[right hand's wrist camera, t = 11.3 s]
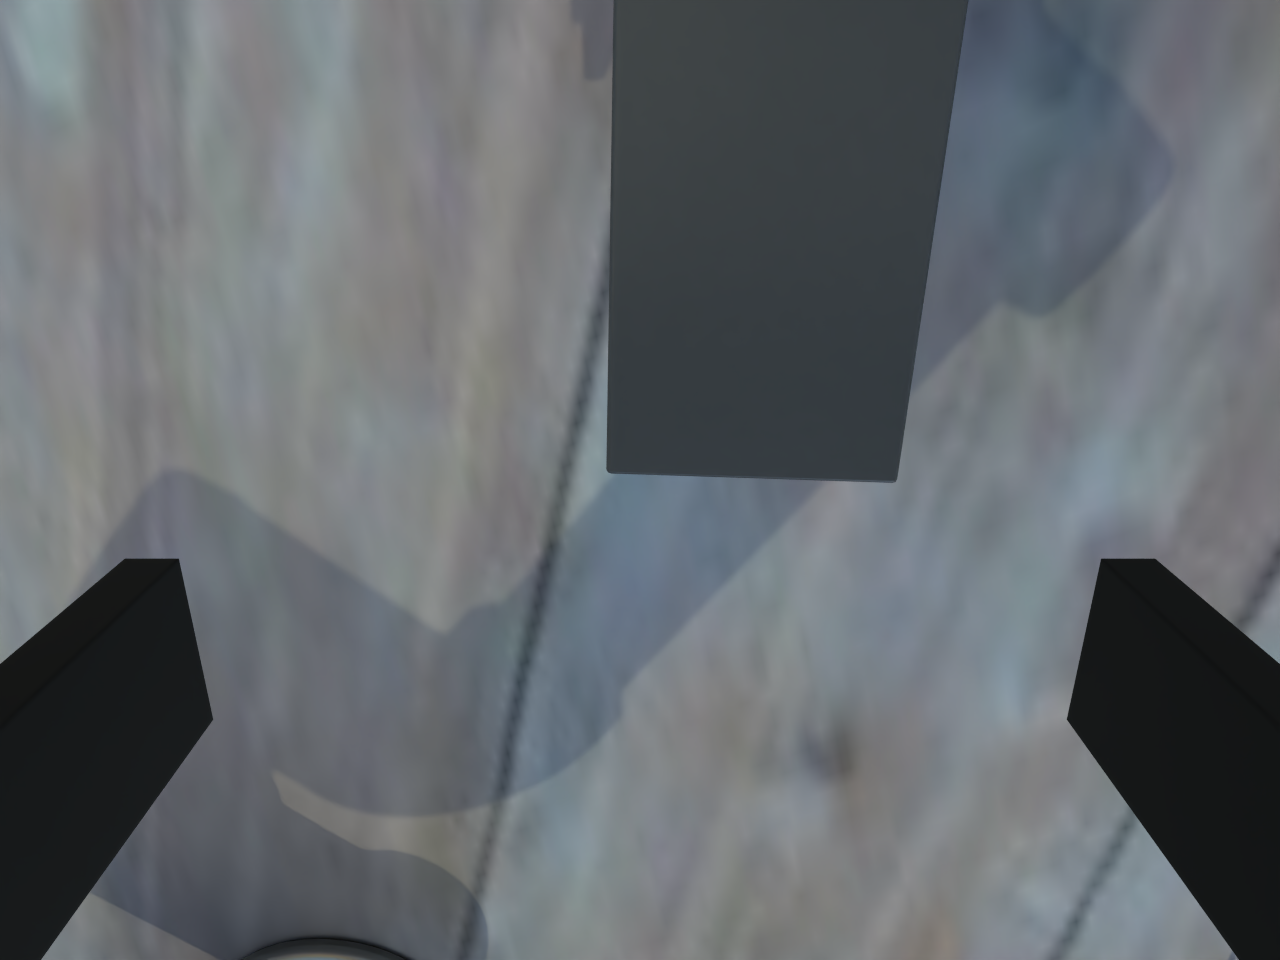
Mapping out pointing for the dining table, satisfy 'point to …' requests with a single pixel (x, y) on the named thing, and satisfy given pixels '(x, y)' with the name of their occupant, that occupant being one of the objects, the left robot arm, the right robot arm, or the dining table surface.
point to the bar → (772, 231)
